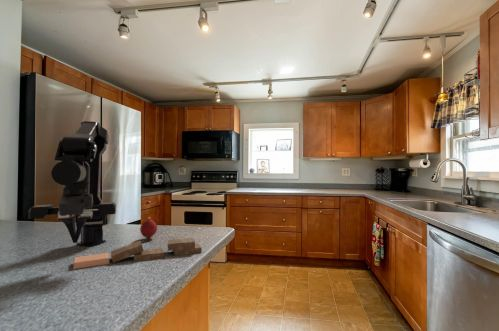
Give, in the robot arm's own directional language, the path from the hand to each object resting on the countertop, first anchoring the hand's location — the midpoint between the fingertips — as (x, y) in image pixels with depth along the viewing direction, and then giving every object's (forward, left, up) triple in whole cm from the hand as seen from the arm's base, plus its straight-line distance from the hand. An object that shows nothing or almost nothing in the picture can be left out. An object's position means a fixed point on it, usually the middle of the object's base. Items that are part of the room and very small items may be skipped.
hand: (75, 242), depth 68 cm
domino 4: (+18, +18, -6) cm, 26 cm away
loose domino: (0, 0, -6) cm, 6 cm away
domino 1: (+6, +6, -5) cm, 10 cm away
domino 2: (+10, +10, -6) cm, 15 cm away
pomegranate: (-1, +29, -6) cm, 30 cm away
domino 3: (+16, +17, -4) cm, 24 cm away
